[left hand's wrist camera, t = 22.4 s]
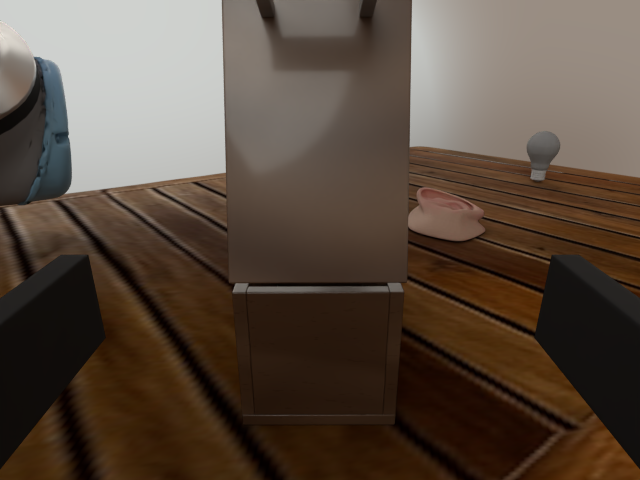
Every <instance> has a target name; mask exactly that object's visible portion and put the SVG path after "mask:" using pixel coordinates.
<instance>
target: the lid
mask: <svg viewBox="0 0 640 480" xmlns="http://www.w3.org/2000/svg"><path fill="white" fill-rule="evenodd" d="M411 19H412V0H222V28H223V69H224V110H225V150H226V191H227V232H228V273H229V283H406V282H407V265H408V204H409V142H410V82H411V21H412V20H411Z"/></svg>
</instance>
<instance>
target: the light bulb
mask: <svg viewBox="0 0 640 480" xmlns="http://www.w3.org/2000/svg"><path fill="white" fill-rule="evenodd" d="M559 149H560V142H559V139H558V138H557V136H556V135H555V134H553V133H551V132H547V131H543V132H539V133H536V134H535V135H533V136H532V137H531V138H530V140H529V141H528V143H527V153H528V155H529V157H530V160H531V168H532V173H531V179H532V180H534V181H542V180H544V179H545V178H544V176H545V173H546V170H547V169H548V167H549V164H550V162H551V161H552V160H553V158H554V157H555V156H556V155H557V154H558V152H559Z"/></svg>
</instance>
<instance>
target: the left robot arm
mask: <svg viewBox="0 0 640 480" xmlns="http://www.w3.org/2000/svg"><path fill="white" fill-rule="evenodd" d="M68 135H69V132H68V119H67V110H66V102H65V95H64V89H63V83H62V78H61V74H60V70H59V68H58V66H57V65H56V64H55V63H54V62H52V61H50V60H44V59H42V58H40V57H33V55H32V53H31V51H30V48H29V47H28V45H27V43H26V42H25V40H24V39H23V38H22V37H21V36H20V35H19V34H18V33H17V32H16V31H15V30H14V29H12V28H11V27H10V26H8V25H7V24H5V23H4V22H2V21H0V206H4V205H15V204H17V205H26V204H29V203H31V202H33V201H39V200H46V199H52V198H57V197H60V196H62V195H63V194H65V193H66V192H67V190H68V189H69V187H70V185H71V179H72V166H71V151H70V142H69V138H68ZM105 338H106V337H105V332H104V328H103V323H102V318H101V313H100V309H99V304H98V299H97V294H96V290H95V285H94V280H93V275H92V271H91V266H90V261H89V256H88V255H60V256H59V257H57V258H56V259H55V260H53V261H52V262H50V263H49V264H48V265H46V266H45V267H43V268H42V269H41V270H39V271H38V272H36V273H35V274H34V275H32V276H31V277H29V278H28V279H27V280H25V281H24V282H22V283H21V284H20V285H18V286H17V287H15V288H14V289H13V290H11V291H10V292H8V293H7V294H6V295H4V296H3V297H1V298H0V469H1V468H2V466H3V465H4V464H5V463H6V461H7V460H8V459H9V458H10V456H11V455H12V454H13V453H14V451H15V450H16V449H17V448H18V446H19V445H20V444H21V443H22V441H23V440H24V439H25V438H26V436H27V435H28V434H29V433H30V431H31V430H32V429H33V428H34V426H35V425H36V424H37V423H38V421H39V420H40V419H41V418H42V416H43V415H44V414H45V413H46V411H47V410H48V409H49V408H50V406H51V405H52V404H53V403H54V401H55V400H56V399H57V398H58V396H59V395H60V394H61V393H62V391H63V390H64V389H65V388H66V386H67V385H68V384H69V383H70V381H71V380H72V379H73V378H74V376H75V375H76V374H77V373H78V371H79V370H80V369H81V368H82V366H83V365H84V364H85V363H86V361H87V360H88V359H89V358H90V357H91V355H92V354H93V353H94V352H95V350H96V349H97V348H98V347H99V345H100V344H101V343H102V342H103V340H104V339H105ZM534 338H535V339H536V340H537V342H538V343H539V344H540V345H541V347H542V348H543V349H544V350H545V352H546V353H547V354H548V355H549V357H550V358H551V359H552V360H553V361H554V363H555V364H556V365H557V366H558V368H559V369H560V370H561V371H562V373H563V374H564V375H565V376H566V378H567V379H568V380H569V381H570V383H571V384H572V385H573V386H574V388H575V389H576V390H577V391H578V393H579V394H580V395H581V396H582V398H583V399H584V400H585V401H586V403H587V404H588V405H589V406H590V408H591V409H592V410H593V411H594V413H595V414H596V415H597V416H598V418H599V419H600V420H601V421H602V423H603V424H604V425H605V426H606V428H607V429H608V430H609V431H610V433H611V434H612V435H613V436H614V438H615V439H616V440H617V441H618V443H619V444H620V445H621V446H622V448H623V449H624V450H625V451H626V453H627V454H628V455H629V456H630V458H631V459H632V460H633V461H634V463H635V464H636V465H637V466H638V468H639V469H640V298H639V297H637V296H636V295H634V294H633V293H632V292H630V291H629V290H627V289H626V288H625V287H623V286H622V285H620V284H619V283H618V282H616V281H615V280H613V279H612V278H611V277H609V276H608V275H606V274H605V273H604V272H602V271H601V270H599V269H598V268H597V267H595V266H594V265H592V264H591V263H590V262H588V261H587V260H585V259H584V258H583V257H581V256H580V255H552V256H551V261H550V266H549V271H548V275H547V280H546V285H545V290H544V294H543V299H542V304H541V309H540V313H539V318H538V323H537V328H536V332H535V337H534Z"/></svg>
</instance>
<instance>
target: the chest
mask: <svg viewBox="0 0 640 480" xmlns="http://www.w3.org/2000/svg"><path fill="white" fill-rule="evenodd" d="M232 297H233V309H234V320H235V332H236V344H237V356H238V367H239V379H240V391H241V403H242V414H243V415H242V416H243V425H394V424H395V413H396V399H397V386H398V372H399V358H400V344H401V330H402V316H403V302H404V291H403V288H402V285H401V283H236V285H235V287H234V290H233V292H232Z"/></svg>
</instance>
